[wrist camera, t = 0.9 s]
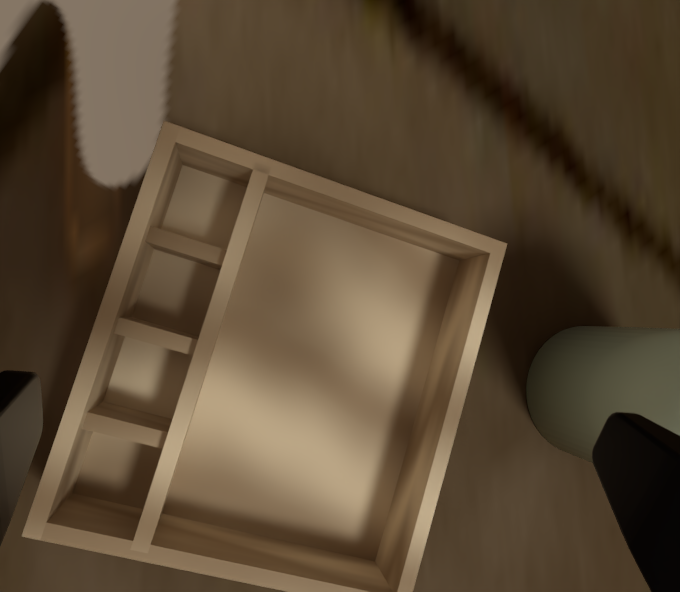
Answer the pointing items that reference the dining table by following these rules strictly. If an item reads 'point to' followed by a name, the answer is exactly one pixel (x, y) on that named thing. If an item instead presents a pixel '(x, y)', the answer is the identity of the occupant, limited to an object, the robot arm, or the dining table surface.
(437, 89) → the dining table surface
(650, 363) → the pale green cylinder
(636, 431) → the robot arm
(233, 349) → the tray
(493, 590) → the dining table surface
